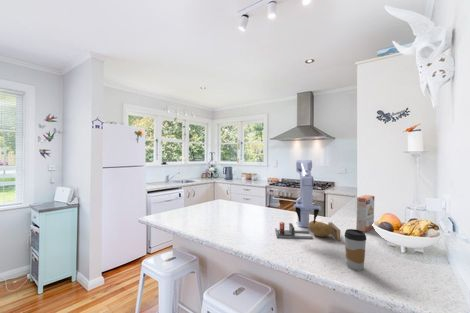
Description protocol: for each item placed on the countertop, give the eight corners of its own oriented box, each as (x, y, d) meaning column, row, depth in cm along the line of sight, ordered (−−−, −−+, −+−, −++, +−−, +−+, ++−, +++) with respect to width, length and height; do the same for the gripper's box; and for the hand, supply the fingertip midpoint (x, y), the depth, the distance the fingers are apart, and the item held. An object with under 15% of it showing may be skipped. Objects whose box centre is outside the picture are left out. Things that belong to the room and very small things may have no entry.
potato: (328, 241, 124) (328, 227, 124) (305, 234, 134) (305, 221, 134) (336, 237, 130) (336, 223, 130) (314, 230, 141) (314, 218, 141)
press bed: (275, 230, 142) (275, 221, 142) (331, 232, 139) (331, 222, 139) (277, 238, 128) (277, 228, 128) (340, 240, 125) (340, 230, 125)
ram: (277, 231, 139) (277, 220, 139) (291, 231, 138) (291, 221, 138) (278, 236, 130) (278, 225, 130) (294, 237, 129) (294, 225, 129)
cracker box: (366, 232, 138) (366, 198, 137) (356, 230, 142) (356, 197, 142) (374, 227, 147) (374, 195, 146) (364, 225, 151) (364, 194, 151)
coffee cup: (358, 262, 101) (359, 228, 100) (370, 271, 92) (371, 235, 92) (340, 262, 100) (340, 228, 100) (350, 272, 92) (350, 235, 92)
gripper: (292, 198, 125) (292, 222, 125) (320, 200, 120) (320, 225, 120) (294, 196, 131) (294, 219, 132) (321, 197, 126) (320, 221, 126)
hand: (307, 222), depth 126 cm, fingers open, 7 cm apart
